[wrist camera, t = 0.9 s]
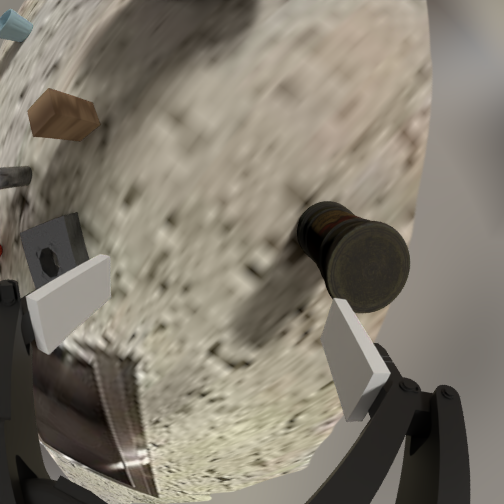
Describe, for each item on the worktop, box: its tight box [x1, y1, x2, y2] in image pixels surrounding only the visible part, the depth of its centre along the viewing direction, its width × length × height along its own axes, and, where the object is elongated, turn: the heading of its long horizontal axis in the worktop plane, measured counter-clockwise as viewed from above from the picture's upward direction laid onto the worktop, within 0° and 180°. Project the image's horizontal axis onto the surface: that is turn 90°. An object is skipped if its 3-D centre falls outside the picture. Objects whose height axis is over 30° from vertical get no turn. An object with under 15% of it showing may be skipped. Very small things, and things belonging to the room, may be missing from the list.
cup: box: [0, 9, 33, 42], centre depth 23 cm, size 8×8×10 cm
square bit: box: [28, 88, 101, 141], centre depth 30 cm, size 5×5×12 cm
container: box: [297, 201, 410, 313], centre depth 30 cm, size 9×9×18 cm
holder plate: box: [20, 212, 89, 289], centre depth 40 cm, size 14×14×4 cm
